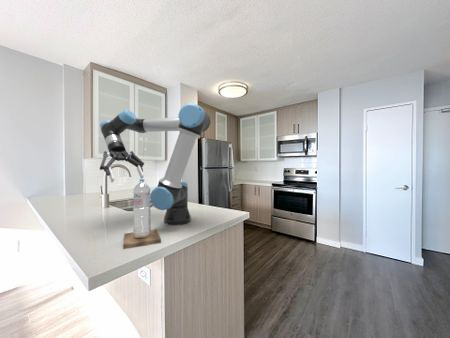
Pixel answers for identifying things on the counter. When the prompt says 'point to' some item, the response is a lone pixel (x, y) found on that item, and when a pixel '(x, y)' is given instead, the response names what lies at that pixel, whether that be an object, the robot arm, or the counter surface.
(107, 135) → the robot arm
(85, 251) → the counter surface
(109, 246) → the counter surface
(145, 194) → the water bottle
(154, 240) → the walnut board
